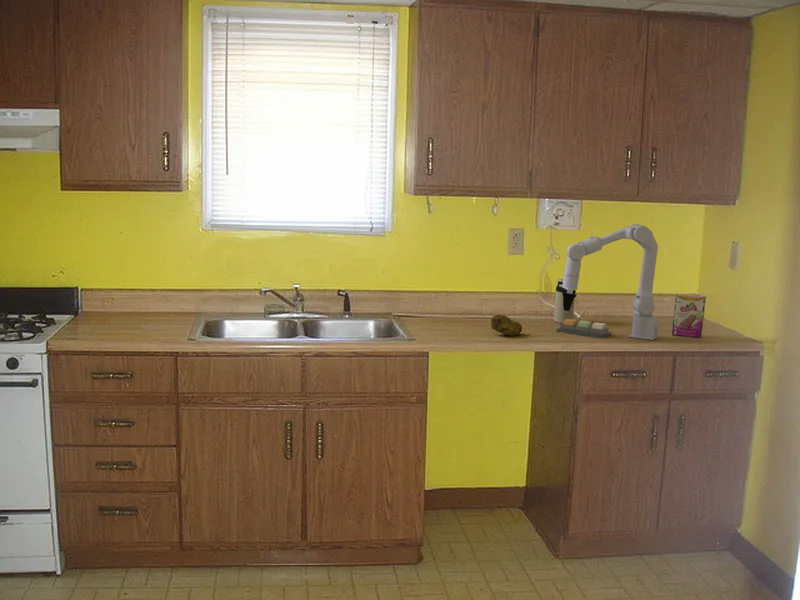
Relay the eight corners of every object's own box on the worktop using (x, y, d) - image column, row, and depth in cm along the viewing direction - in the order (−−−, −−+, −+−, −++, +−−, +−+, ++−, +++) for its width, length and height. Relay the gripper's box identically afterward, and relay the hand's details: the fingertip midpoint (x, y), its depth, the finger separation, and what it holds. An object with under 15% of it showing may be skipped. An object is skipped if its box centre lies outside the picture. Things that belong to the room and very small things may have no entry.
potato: (525, 337, 315) (526, 316, 314) (492, 337, 314) (493, 316, 312) (520, 333, 323) (521, 313, 322) (487, 332, 322) (488, 312, 320)
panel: (611, 334, 326) (611, 327, 325) (603, 338, 317) (603, 330, 317) (565, 328, 336) (566, 321, 335) (556, 332, 327) (556, 324, 327)
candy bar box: (671, 335, 328) (675, 294, 325) (673, 333, 332) (676, 293, 330) (701, 338, 323) (705, 297, 321) (702, 336, 328) (706, 295, 325)
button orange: (576, 324, 330) (576, 319, 330) (572, 326, 327) (573, 321, 326) (566, 323, 332) (567, 318, 332) (563, 324, 329) (563, 320, 328)
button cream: (605, 328, 324) (605, 323, 323) (602, 330, 320) (602, 325, 320) (595, 327, 326) (596, 322, 325) (592, 328, 322) (592, 323, 322)
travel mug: (562, 324, 344) (565, 281, 342) (550, 321, 351) (552, 279, 348) (576, 323, 348) (579, 280, 346) (564, 319, 355) (566, 278, 352)
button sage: (590, 326, 327) (591, 321, 326) (587, 328, 323) (587, 323, 323) (581, 325, 329) (581, 320, 329) (577, 326, 326) (577, 321, 325)
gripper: (560, 271, 327) (555, 304, 330) (561, 275, 313) (556, 310, 315) (578, 274, 326) (573, 307, 329) (580, 278, 312) (574, 313, 314)
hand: (566, 309), depth 322 cm, fingers open, 7 cm apart
